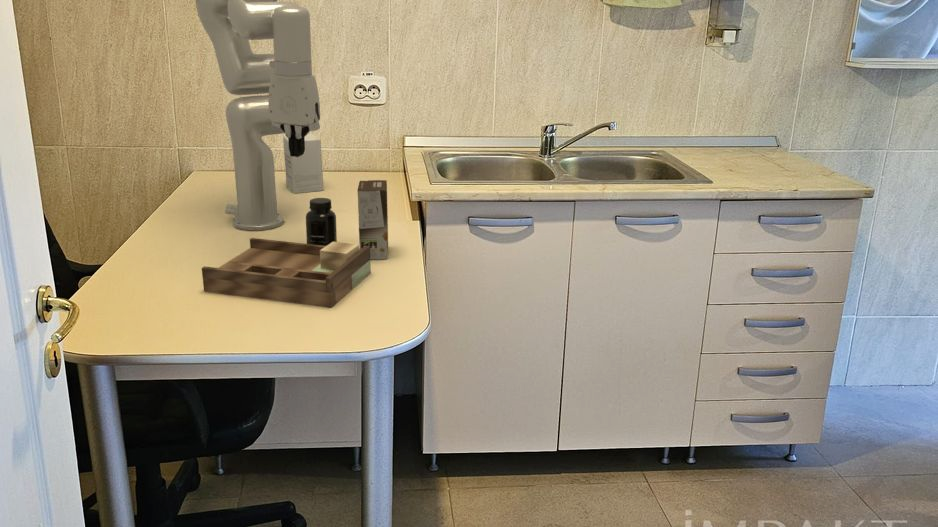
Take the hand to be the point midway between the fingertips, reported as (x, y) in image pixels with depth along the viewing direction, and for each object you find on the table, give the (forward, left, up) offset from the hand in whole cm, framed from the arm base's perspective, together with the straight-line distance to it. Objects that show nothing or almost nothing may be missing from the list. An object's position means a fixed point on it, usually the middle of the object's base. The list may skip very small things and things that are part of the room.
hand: (297, 155), depth 186 cm
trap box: (+4, -14, -24) cm, 27 cm away
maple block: (+13, -9, -21) cm, 26 cm away
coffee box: (+14, +8, -24) cm, 29 cm away
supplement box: (-26, +54, -24) cm, 65 cm away
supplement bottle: (+2, +6, -24) cm, 25 cm away
